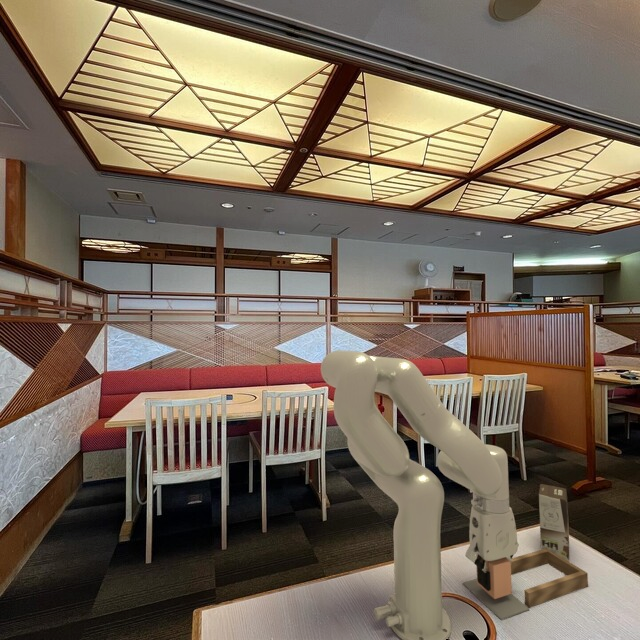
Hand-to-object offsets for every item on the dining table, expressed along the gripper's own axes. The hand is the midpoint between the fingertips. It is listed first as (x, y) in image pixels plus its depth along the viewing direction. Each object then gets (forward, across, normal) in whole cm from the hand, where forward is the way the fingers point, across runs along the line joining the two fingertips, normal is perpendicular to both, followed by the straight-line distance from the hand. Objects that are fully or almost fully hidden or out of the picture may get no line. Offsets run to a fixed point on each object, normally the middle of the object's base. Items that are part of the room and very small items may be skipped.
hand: (493, 582), depth 75 cm
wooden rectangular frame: (+3, +14, 0) cm, 14 cm away
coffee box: (+3, +30, +7) cm, 30 cm away
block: (+1, 0, 0) cm, 1 cm away
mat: (+3, 0, 0) cm, 3 cm away
